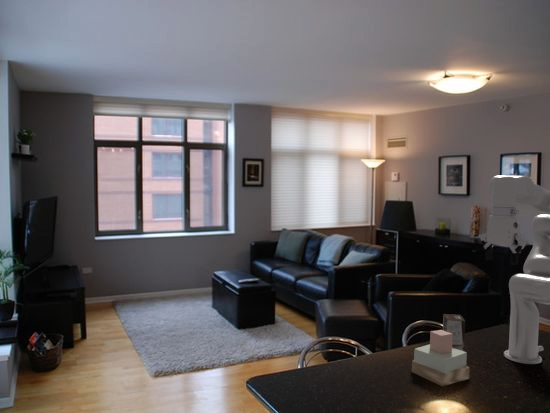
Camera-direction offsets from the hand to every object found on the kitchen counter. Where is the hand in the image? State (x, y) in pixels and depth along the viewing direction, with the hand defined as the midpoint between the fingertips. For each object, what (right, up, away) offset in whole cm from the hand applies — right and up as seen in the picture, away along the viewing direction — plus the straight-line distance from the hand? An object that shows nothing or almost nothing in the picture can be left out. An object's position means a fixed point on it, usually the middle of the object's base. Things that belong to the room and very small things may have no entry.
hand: (501, 262), depth 166 cm
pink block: (-22, -29, -3) cm, 37 cm away
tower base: (-22, -38, -3) cm, 44 cm away
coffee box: (-13, -37, +11) cm, 41 cm away
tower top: (-22, -34, -3) cm, 40 cm away
